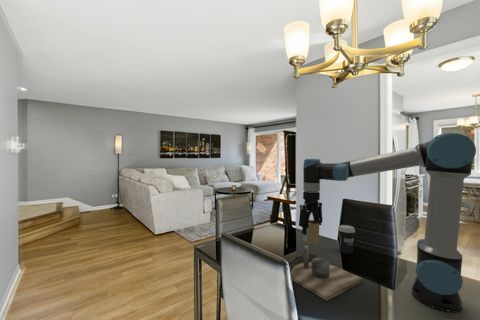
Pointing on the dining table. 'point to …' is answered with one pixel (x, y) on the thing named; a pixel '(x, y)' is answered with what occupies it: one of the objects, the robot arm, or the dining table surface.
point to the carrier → (321, 275)
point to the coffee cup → (346, 238)
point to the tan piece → (313, 232)
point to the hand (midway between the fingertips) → (310, 239)
